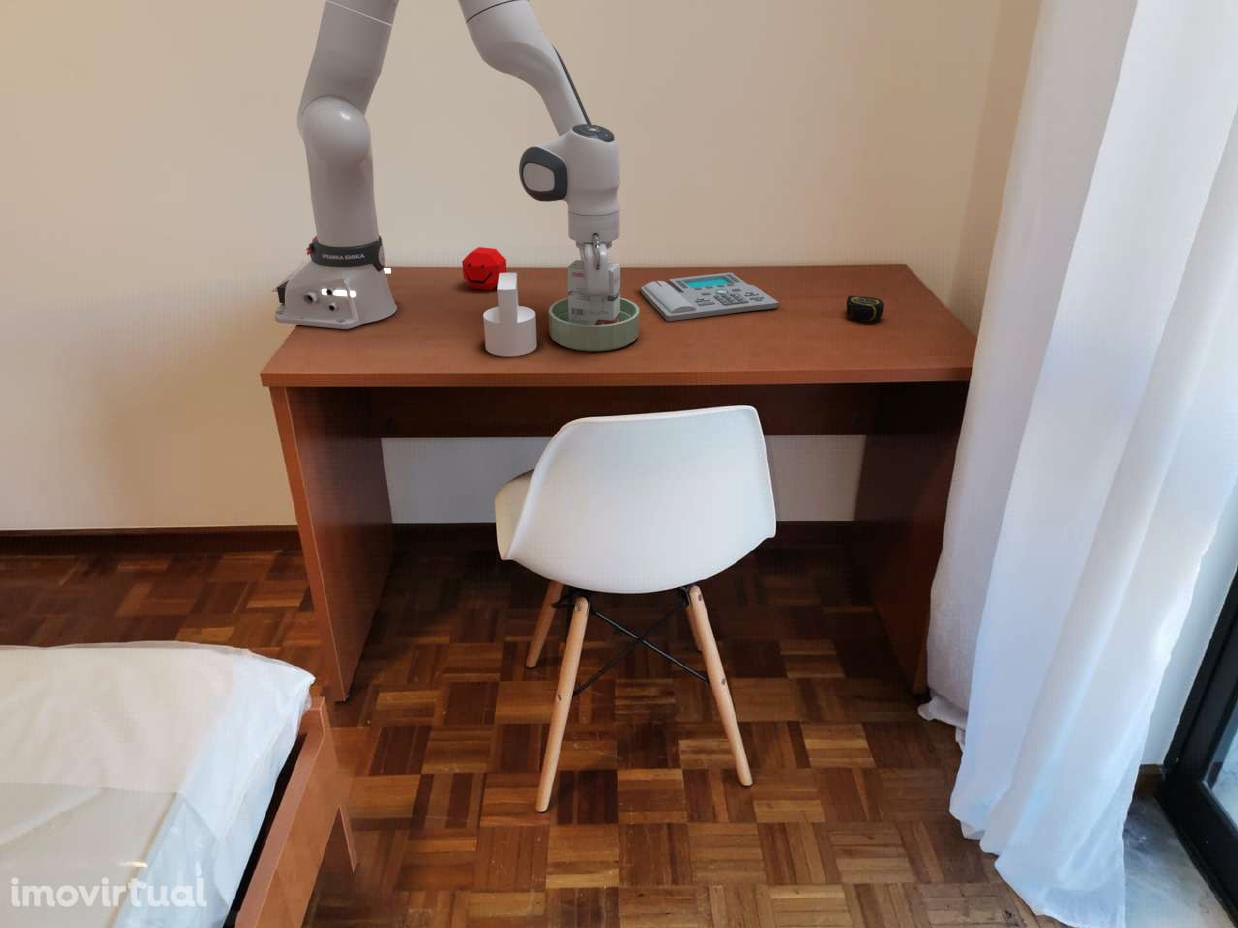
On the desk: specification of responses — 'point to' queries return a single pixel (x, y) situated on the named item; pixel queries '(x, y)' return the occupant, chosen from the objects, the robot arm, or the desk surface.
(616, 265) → the ink box
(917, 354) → the desk surface
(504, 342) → the base with upright slab
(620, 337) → the bowl
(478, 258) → the ball
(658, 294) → the office telephone
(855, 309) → the tape measure
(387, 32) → the robot arm
